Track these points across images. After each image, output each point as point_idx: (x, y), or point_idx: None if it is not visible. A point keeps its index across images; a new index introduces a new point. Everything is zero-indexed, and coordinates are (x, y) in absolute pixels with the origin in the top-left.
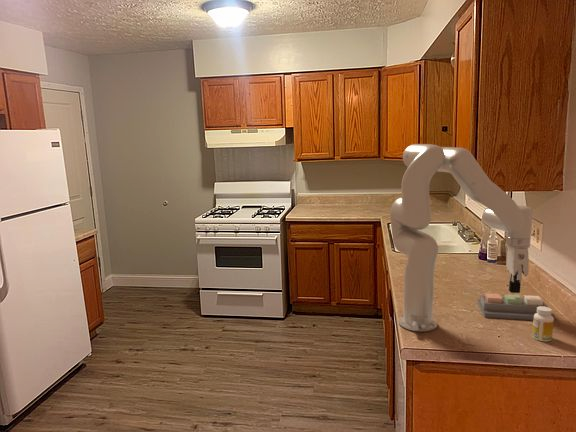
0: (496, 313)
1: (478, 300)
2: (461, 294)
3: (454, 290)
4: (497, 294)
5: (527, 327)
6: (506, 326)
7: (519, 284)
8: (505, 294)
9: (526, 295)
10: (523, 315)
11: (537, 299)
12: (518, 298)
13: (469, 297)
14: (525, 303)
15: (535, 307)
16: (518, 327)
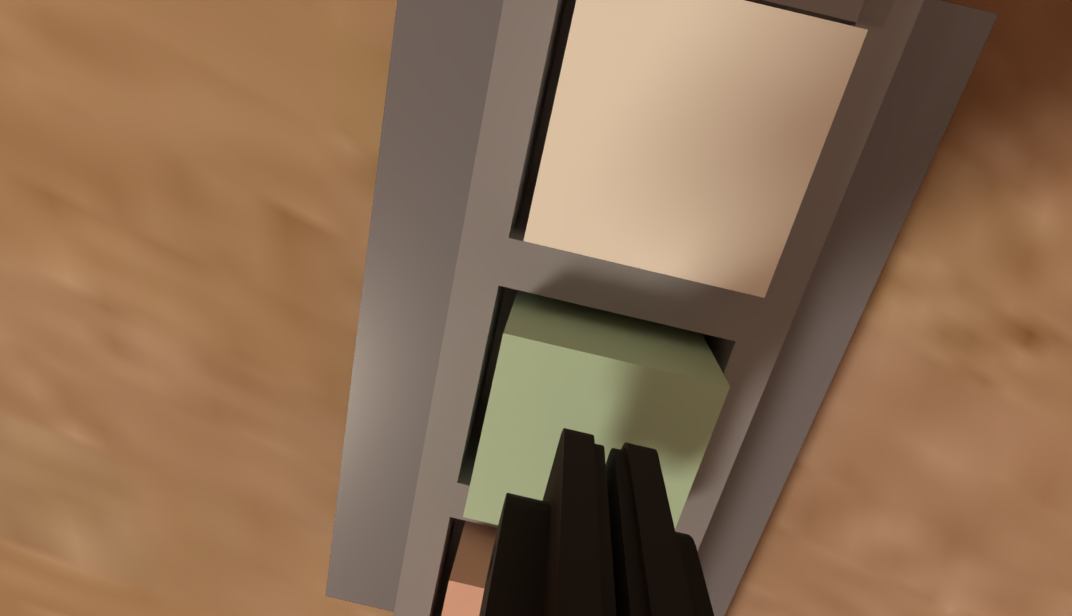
0: (722, 597)
1: (357, 600)
2: (121, 595)
3: (20, 609)
4: (472, 608)
5: (1011, 402)
6: (924, 568)
7: (679, 609)
8: (472, 510)
9: (538, 210)
10: (835, 366)
11: (769, 106)
12: (664, 416)
13: (192, 564)
14: (699, 292)
15: (832, 193)
16: (981, 483)
